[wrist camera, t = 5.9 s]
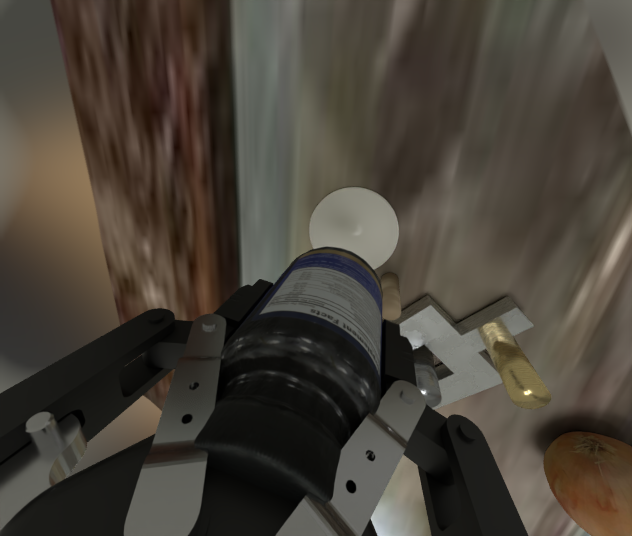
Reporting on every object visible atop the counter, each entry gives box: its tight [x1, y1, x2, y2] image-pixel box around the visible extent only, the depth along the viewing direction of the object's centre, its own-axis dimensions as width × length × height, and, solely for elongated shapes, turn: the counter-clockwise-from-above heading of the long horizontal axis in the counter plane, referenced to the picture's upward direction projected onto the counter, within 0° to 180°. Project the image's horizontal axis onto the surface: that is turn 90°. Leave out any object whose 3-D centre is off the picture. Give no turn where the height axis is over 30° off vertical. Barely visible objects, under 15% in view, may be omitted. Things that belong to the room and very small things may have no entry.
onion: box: [544, 431, 632, 536], centre depth 26 cm, size 10×10×10 cm
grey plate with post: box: [388, 295, 551, 410], centre depth 25 cm, size 18×12×9 cm
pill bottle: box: [194, 246, 383, 504], centre depth 11 cm, size 6×6×11 cm
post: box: [413, 345, 442, 408], centre depth 28 cm, size 3×3×6 cm
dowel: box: [381, 273, 401, 320], centre depth 25 cm, size 2×2×6 cm
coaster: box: [309, 187, 399, 270], centre depth 26 cm, size 9×9×1 cm
